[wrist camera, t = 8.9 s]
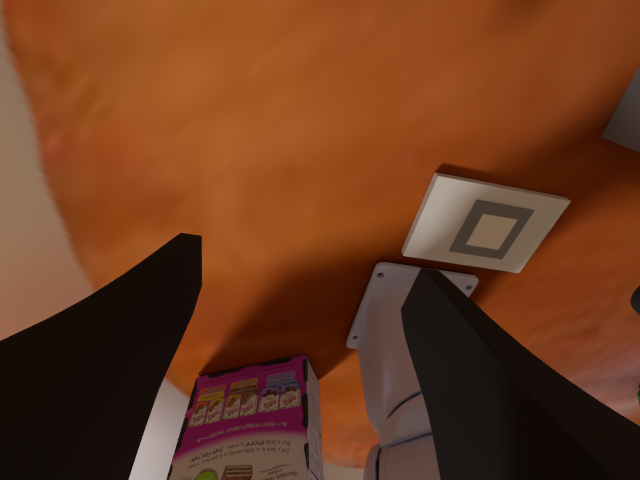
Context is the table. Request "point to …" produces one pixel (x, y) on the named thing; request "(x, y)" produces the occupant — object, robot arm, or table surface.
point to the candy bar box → (252, 425)
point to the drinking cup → (636, 301)
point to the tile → (481, 223)
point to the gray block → (626, 118)
